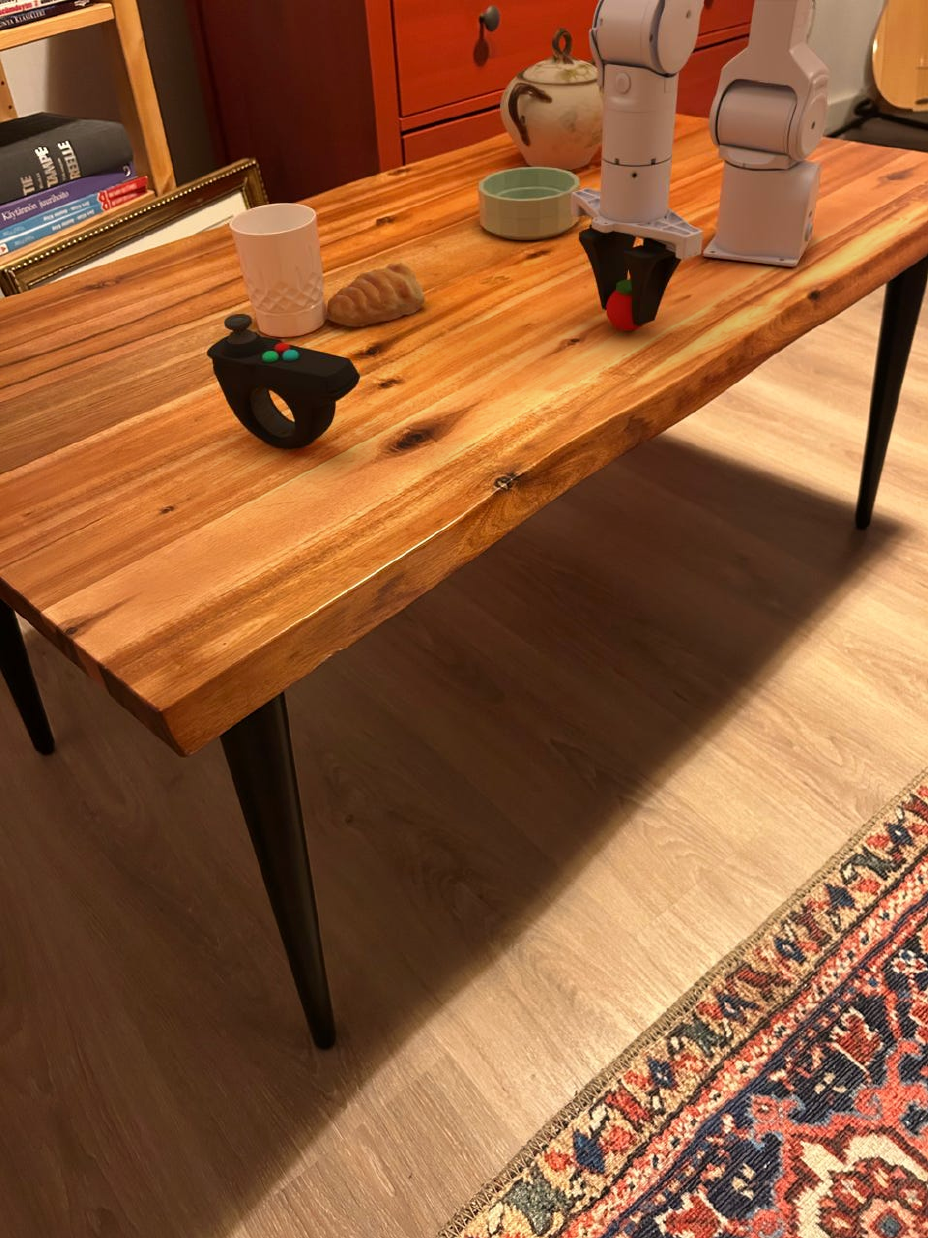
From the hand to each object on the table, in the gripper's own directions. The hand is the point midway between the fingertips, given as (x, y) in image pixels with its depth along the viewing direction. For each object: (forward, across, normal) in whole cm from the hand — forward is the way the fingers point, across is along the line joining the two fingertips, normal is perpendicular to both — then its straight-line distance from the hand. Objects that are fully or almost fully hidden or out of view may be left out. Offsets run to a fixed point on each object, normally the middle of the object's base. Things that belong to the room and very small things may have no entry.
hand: (627, 314), depth 88 cm
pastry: (+2, -19, -16) cm, 24 cm away
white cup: (+2, -22, -23) cm, 32 cm away
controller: (+2, -2, -33) cm, 33 cm away
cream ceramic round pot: (+2, -43, +26) cm, 50 cm away
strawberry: (+1, 0, 0) cm, 1 cm away
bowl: (+1, -28, +10) cm, 29 cm away
